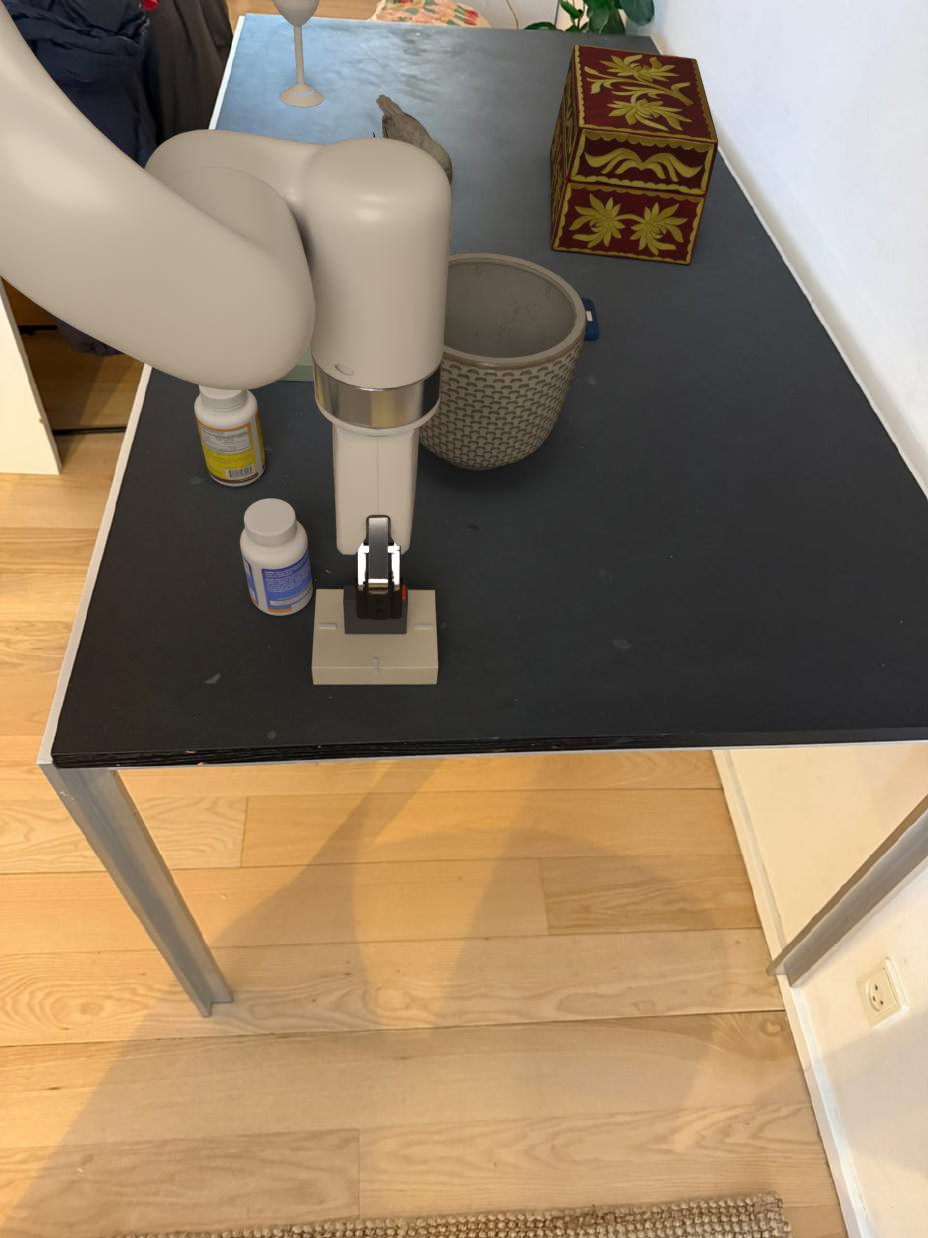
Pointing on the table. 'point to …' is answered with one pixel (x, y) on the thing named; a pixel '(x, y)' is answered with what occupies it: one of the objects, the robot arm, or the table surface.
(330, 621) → the dial panel
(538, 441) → the planter
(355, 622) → the program dial
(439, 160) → the decorative bird
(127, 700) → the table surface
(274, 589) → the pill bottle
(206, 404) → the supplement bottle
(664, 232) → the decorative box
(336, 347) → the robot arm
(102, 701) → the table surface
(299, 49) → the champagne flute
